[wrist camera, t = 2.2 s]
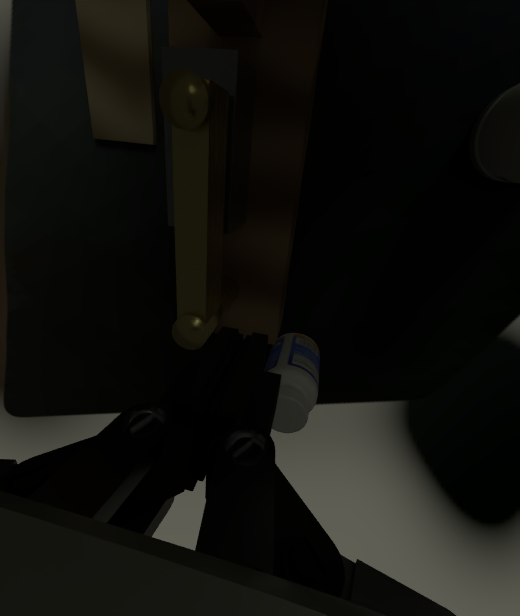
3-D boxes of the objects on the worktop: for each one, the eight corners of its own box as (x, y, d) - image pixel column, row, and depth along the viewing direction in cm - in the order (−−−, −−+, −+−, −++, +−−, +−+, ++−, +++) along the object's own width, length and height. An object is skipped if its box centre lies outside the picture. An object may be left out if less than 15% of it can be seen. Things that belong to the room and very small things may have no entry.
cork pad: (75, -41, 23) (69, -46, 23) (147, -40, 22) (143, -45, 22) (97, 138, 29) (93, 138, 28) (156, 145, 28) (153, 144, 27)
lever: (238, 303, 28) (203, 355, 20) (213, 298, 28) (169, 348, 21) (252, 103, 21) (207, 69, 14) (219, 100, 21) (157, 66, 14)
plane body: (192, -2, 23) (117, -91, 15) (328, 1, 21) (324, -95, 13) (193, 308, 34) (151, 352, 26) (281, 325, 33) (264, 377, 25)
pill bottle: (278, 374, 36) (261, 442, 27) (265, 334, 34) (242, 393, 25) (325, 369, 34) (322, 439, 25) (314, 327, 32) (307, 386, 23)
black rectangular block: (193, 68, 21) (160, 45, 17) (256, 71, 20) (238, 49, 16) (193, 215, 26) (168, 225, 22) (245, 223, 25) (229, 234, 21)
